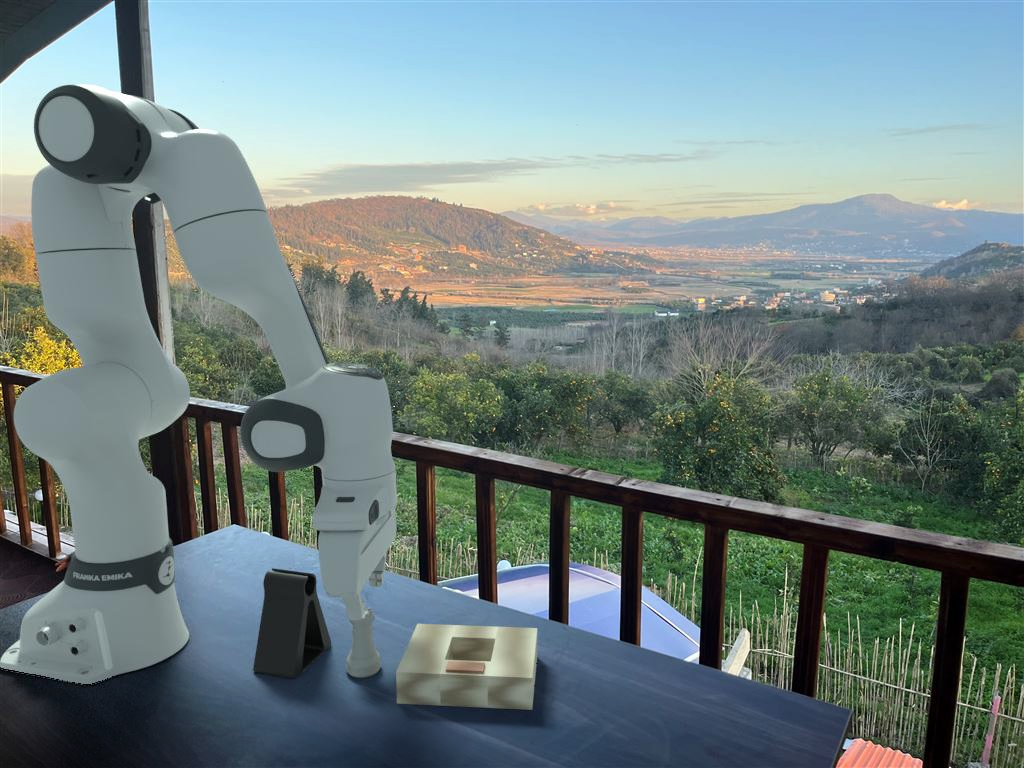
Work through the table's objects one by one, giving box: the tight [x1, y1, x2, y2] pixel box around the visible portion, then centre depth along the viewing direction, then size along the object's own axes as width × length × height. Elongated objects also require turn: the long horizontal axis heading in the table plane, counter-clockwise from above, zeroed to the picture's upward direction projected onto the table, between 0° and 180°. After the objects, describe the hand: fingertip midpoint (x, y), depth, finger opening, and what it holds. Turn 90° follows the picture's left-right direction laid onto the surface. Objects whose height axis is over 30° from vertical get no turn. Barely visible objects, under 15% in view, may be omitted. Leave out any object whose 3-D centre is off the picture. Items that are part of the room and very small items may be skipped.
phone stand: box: [252, 567, 332, 680], centre depth 95 cm, size 9×6×12 cm, turn 163°
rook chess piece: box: [345, 606, 382, 679], centre depth 93 cm, size 4×4×8 cm
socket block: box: [395, 623, 538, 711], centre depth 91 cm, size 16×12×4 cm
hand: (367, 600), depth 92 cm, fingers open, 8 cm apart
